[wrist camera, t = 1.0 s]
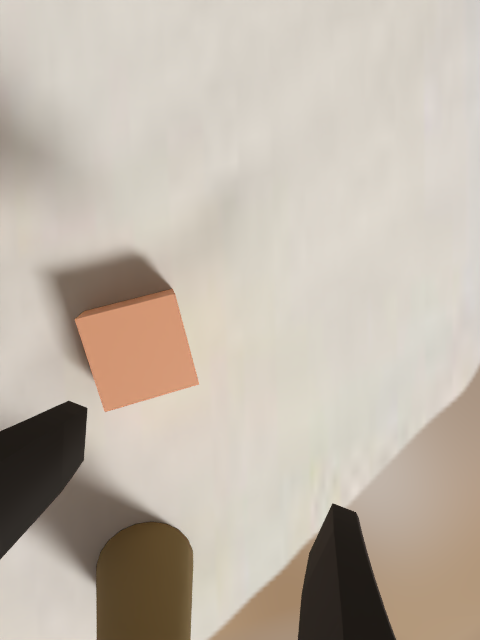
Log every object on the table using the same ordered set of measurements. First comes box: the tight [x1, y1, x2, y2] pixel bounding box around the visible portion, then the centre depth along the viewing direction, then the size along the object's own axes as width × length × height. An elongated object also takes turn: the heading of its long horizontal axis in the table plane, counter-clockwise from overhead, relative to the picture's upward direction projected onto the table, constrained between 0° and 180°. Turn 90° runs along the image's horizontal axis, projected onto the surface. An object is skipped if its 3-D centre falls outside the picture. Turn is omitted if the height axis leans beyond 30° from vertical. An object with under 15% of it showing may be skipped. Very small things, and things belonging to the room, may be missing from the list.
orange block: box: [75, 289, 199, 412], centre depth 22 cm, size 5×5×3 cm
